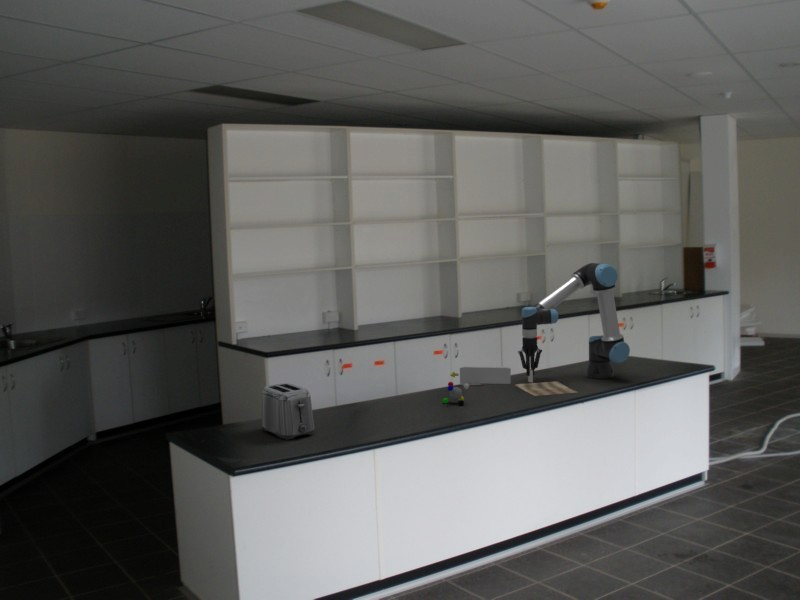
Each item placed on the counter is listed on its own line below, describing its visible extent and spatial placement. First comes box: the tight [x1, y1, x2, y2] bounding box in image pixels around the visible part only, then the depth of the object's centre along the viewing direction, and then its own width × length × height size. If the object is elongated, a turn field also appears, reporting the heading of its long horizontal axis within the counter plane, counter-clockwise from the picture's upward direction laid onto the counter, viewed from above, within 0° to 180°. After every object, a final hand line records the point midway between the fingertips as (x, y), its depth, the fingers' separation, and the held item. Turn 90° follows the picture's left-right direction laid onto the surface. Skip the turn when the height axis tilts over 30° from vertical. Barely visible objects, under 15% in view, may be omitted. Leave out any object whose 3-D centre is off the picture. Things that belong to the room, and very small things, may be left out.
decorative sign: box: [449, 365, 512, 387], centre depth 410 cm, size 32×4×10 cm, turn 79°
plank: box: [514, 380, 569, 393], centre depth 397 cm, size 24×14×1 cm, turn 104°
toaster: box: [261, 382, 316, 441], centre depth 324 cm, size 17×30×19 cm, turn 35°
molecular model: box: [442, 381, 470, 407], centre depth 369 cm, size 11×13×10 cm
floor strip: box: [527, 387, 579, 397], centre depth 385 cm, size 24×10×1 cm, turn 104°
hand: (530, 381), depth 397 cm, fingers closed
